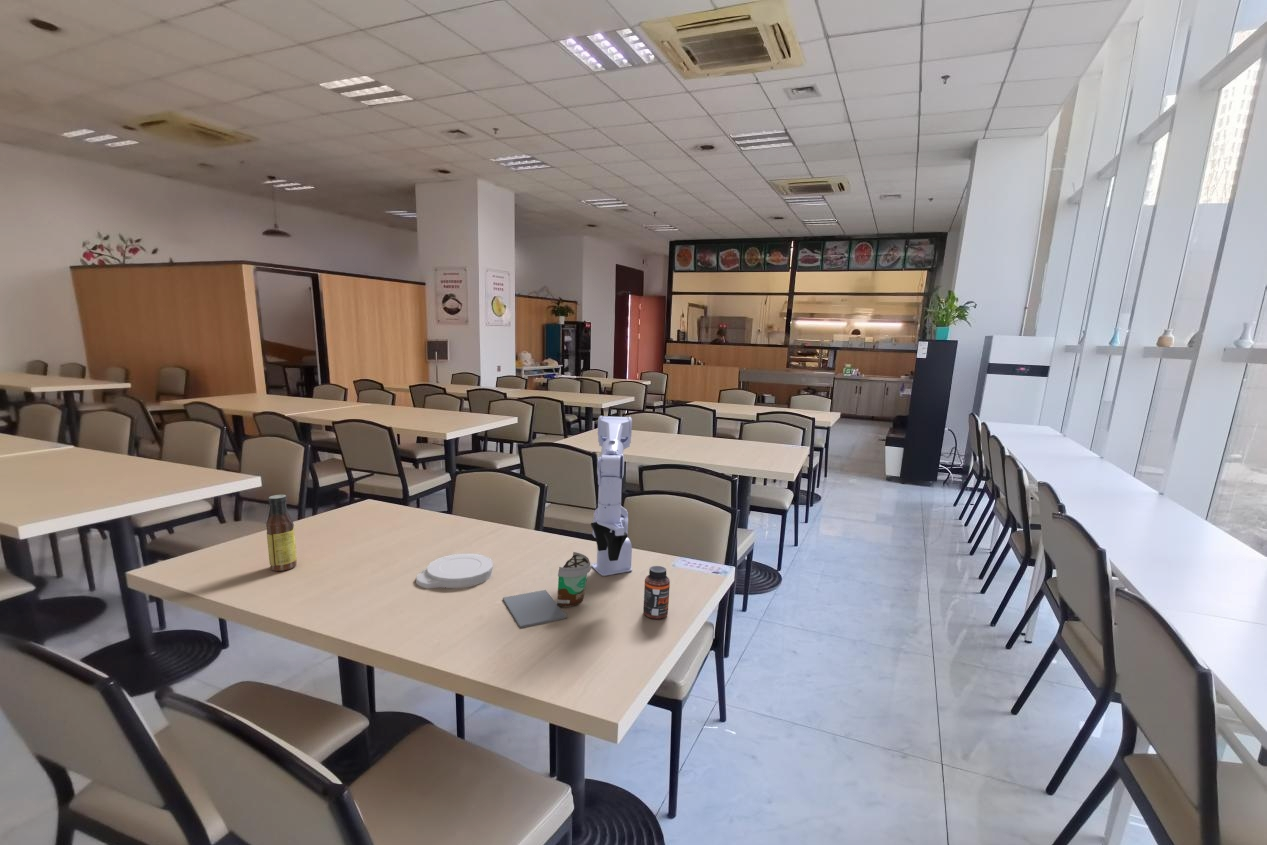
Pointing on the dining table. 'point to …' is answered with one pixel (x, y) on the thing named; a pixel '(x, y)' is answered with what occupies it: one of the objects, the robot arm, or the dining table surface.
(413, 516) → the dining table surface
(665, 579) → the supplement bottle
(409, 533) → the dining table surface
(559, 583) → the food container
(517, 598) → the mat
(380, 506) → the dining table surface
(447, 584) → the lid
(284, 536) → the sauce bottle
